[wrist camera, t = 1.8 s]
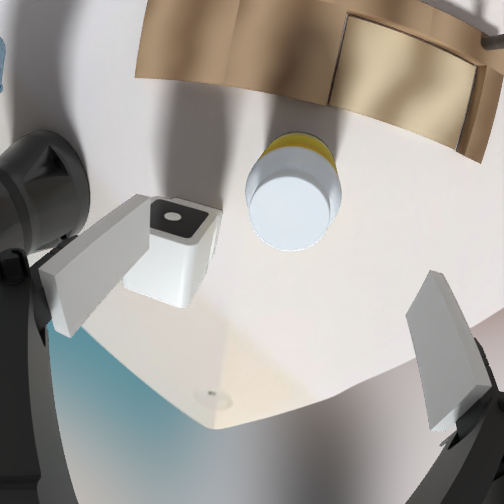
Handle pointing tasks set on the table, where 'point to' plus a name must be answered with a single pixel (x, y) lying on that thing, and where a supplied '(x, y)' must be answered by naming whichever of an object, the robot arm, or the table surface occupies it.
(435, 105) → the shelf board
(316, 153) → the pill bottle
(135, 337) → the table surface
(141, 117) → the table surface
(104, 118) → the table surface
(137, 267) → the security camera
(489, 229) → the table surface
